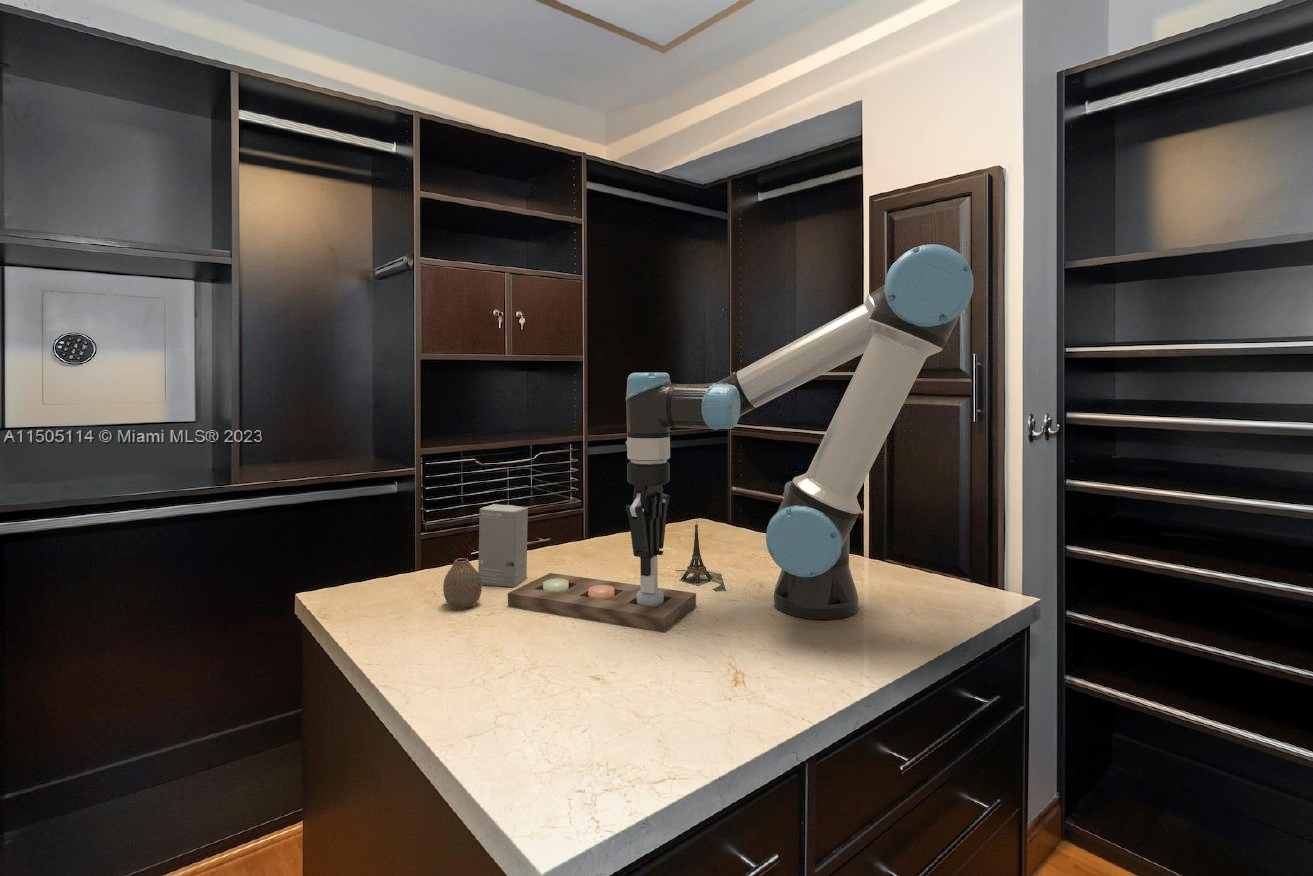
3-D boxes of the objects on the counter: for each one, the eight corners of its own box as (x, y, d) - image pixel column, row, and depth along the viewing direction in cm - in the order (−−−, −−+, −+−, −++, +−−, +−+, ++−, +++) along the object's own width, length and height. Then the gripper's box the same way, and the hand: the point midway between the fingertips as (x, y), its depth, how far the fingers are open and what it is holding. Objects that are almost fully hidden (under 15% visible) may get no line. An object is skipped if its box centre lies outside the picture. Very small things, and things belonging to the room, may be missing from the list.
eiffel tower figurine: (727, 594, 136) (727, 527, 135) (675, 595, 136) (674, 528, 135) (720, 572, 151) (720, 511, 150) (673, 572, 151) (673, 512, 150)
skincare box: (477, 585, 142) (474, 509, 140) (493, 575, 149) (491, 502, 147) (516, 588, 140) (513, 510, 138) (530, 578, 147) (528, 504, 145)
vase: (471, 613, 126) (470, 565, 125) (436, 610, 127) (434, 564, 126) (488, 600, 132) (486, 555, 132) (455, 598, 134) (453, 554, 133)
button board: (696, 606, 128) (696, 593, 128) (664, 632, 115) (664, 617, 115) (550, 584, 142) (550, 572, 141) (508, 606, 129) (507, 593, 129)
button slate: (668, 607, 125) (667, 591, 125) (656, 615, 121) (656, 599, 121) (644, 603, 127) (643, 587, 127) (632, 612, 123) (631, 595, 123)
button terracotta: (619, 602, 130) (618, 586, 129) (606, 610, 125) (606, 594, 125) (596, 599, 132) (596, 583, 131) (583, 607, 127) (583, 591, 127)
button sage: (573, 595, 134) (573, 580, 134) (559, 603, 130) (559, 587, 129) (552, 592, 136) (552, 577, 136) (538, 599, 132) (538, 584, 131)
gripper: (645, 455, 129) (646, 579, 131) (611, 464, 117) (612, 599, 120) (682, 457, 126) (682, 584, 128) (651, 466, 114) (652, 606, 116)
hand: (649, 591), depth 124 cm, fingers closed
